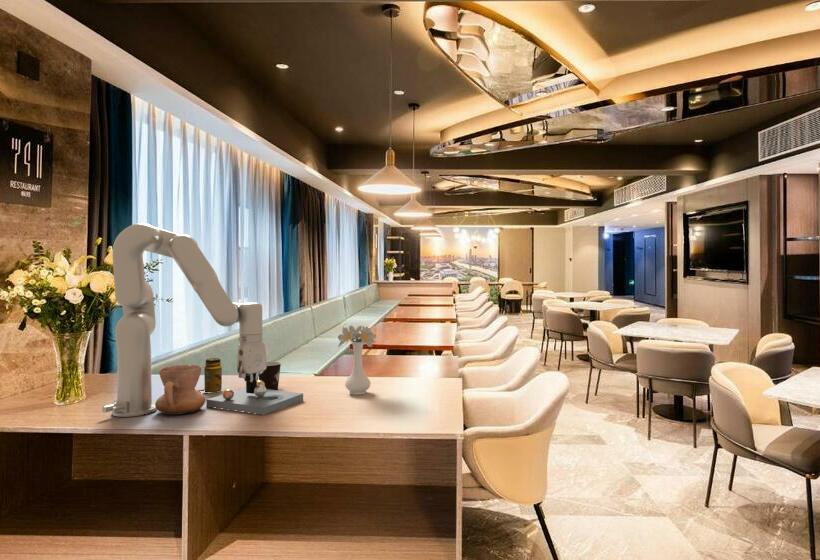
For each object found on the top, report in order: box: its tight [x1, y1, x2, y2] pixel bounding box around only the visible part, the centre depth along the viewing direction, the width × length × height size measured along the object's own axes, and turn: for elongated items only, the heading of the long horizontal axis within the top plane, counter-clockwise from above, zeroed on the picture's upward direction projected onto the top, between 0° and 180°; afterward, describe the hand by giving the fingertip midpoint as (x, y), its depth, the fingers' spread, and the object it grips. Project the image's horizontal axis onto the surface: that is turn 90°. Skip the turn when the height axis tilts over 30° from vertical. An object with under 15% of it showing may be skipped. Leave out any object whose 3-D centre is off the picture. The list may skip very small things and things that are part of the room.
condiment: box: [196, 357, 223, 393], centre depth 188 cm, size 7×8×12 cm
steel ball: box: [254, 385, 266, 397], centre depth 170 cm, size 4×4×4 cm
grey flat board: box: [206, 387, 304, 416], centre depth 170 cm, size 24×20×2 cm
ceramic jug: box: [154, 363, 206, 415], centre depth 160 cm, size 18×14×14 cm
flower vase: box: [337, 325, 377, 396], centre depth 186 cm, size 13×18×25 cm
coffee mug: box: [258, 361, 282, 391], centre depth 191 cm, size 12×9×10 cm
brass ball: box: [257, 379, 265, 386], centre depth 179 cm, size 4×4×4 cm
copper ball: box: [222, 388, 234, 400], centre depth 166 cm, size 4×4×4 cm
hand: (251, 392), depth 171 cm, fingers closed
